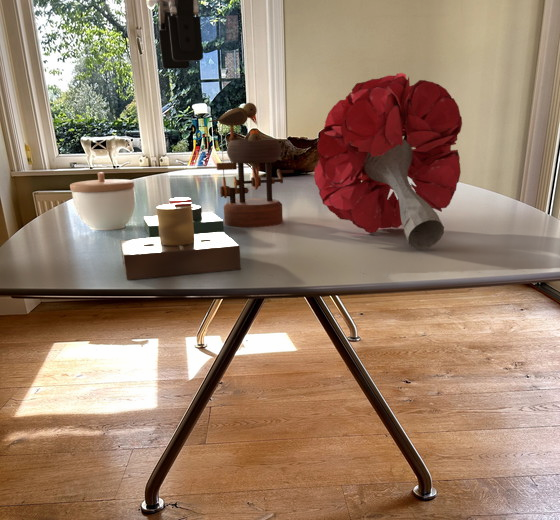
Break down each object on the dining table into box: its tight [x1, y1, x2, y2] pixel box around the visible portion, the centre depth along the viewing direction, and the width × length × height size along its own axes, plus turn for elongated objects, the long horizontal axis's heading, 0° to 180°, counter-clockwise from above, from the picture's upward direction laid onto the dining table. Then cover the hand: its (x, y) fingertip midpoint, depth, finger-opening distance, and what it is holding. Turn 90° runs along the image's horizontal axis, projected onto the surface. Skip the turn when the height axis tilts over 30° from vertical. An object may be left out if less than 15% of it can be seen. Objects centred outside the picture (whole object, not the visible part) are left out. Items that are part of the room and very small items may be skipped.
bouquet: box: [313, 72, 463, 250], centre depth 89 cm, size 22×24×30 cm
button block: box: [142, 204, 225, 238], centre depth 100 cm, size 12×10×4 cm
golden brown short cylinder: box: [156, 202, 195, 246], centre depth 75 cm, size 4×4×5 cm
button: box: [169, 197, 193, 204], centre depth 99 cm, size 4×4×2 cm
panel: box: [119, 231, 242, 281], centre depth 77 cm, size 14×10×3 cm
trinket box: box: [69, 171, 136, 232], centre depth 104 cm, size 11×11×9 cm
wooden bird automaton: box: [208, 102, 295, 228], centre depth 104 cm, size 15×11×20 cm
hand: (181, 64), depth 67 cm, fingers open, 9 cm apart
